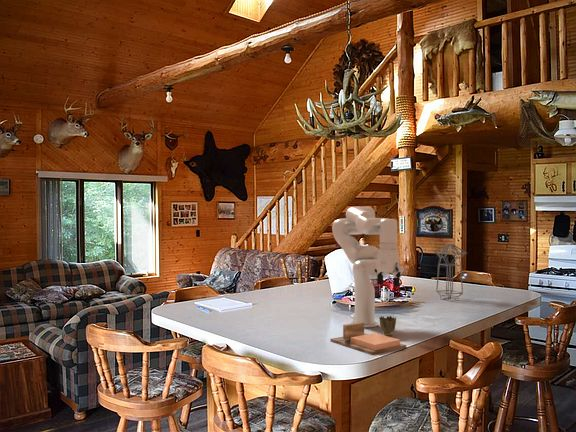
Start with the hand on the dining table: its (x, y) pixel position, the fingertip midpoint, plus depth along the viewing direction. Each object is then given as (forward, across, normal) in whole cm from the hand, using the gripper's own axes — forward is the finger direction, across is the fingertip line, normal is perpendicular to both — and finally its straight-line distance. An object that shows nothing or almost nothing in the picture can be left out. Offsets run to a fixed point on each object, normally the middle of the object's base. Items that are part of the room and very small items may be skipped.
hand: (388, 285), depth 230 cm
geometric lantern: (+22, -44, +101) cm, 112 cm away
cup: (+22, 0, 0) cm, 22 cm away
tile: (+19, +10, -18) cm, 28 cm away
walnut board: (+22, +6, -18) cm, 29 cm away
